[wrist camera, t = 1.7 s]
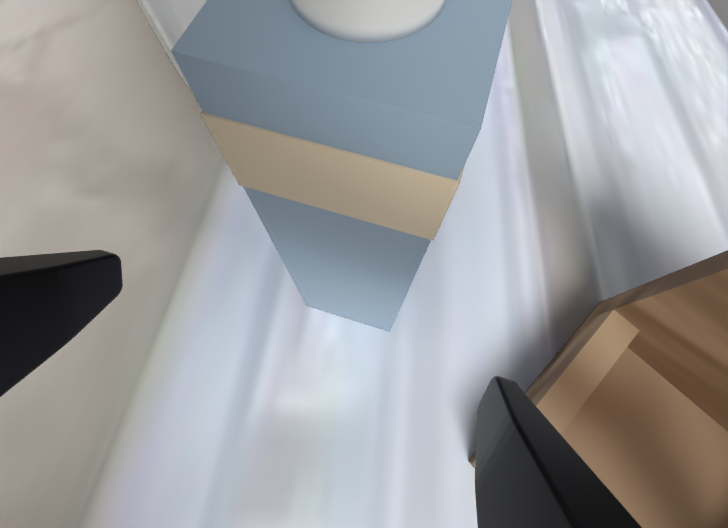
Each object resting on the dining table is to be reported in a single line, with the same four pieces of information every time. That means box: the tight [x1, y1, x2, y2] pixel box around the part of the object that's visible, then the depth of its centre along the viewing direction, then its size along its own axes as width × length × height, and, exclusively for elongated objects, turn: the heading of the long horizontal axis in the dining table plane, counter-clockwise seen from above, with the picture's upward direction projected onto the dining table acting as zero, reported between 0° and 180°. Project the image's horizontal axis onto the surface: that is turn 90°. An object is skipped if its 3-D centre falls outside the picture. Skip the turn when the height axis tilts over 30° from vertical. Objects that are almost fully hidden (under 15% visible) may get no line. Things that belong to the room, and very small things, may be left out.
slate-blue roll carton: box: [171, 0, 512, 332], centre depth 14 cm, size 5×5×16 cm
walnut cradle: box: [469, 250, 728, 528], centre depth 14 cm, size 12×12×9 cm
